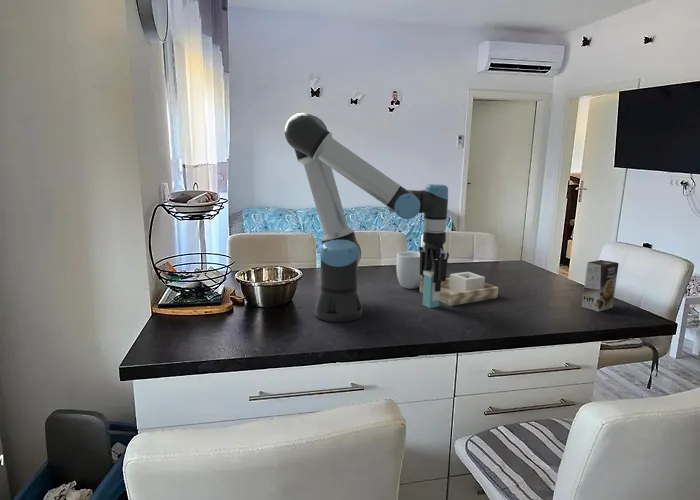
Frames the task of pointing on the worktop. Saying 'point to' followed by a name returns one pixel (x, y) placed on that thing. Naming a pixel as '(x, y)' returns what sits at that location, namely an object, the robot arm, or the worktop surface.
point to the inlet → (466, 282)
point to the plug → (429, 290)
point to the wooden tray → (464, 294)
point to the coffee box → (600, 285)
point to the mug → (409, 269)
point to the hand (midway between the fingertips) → (431, 298)
